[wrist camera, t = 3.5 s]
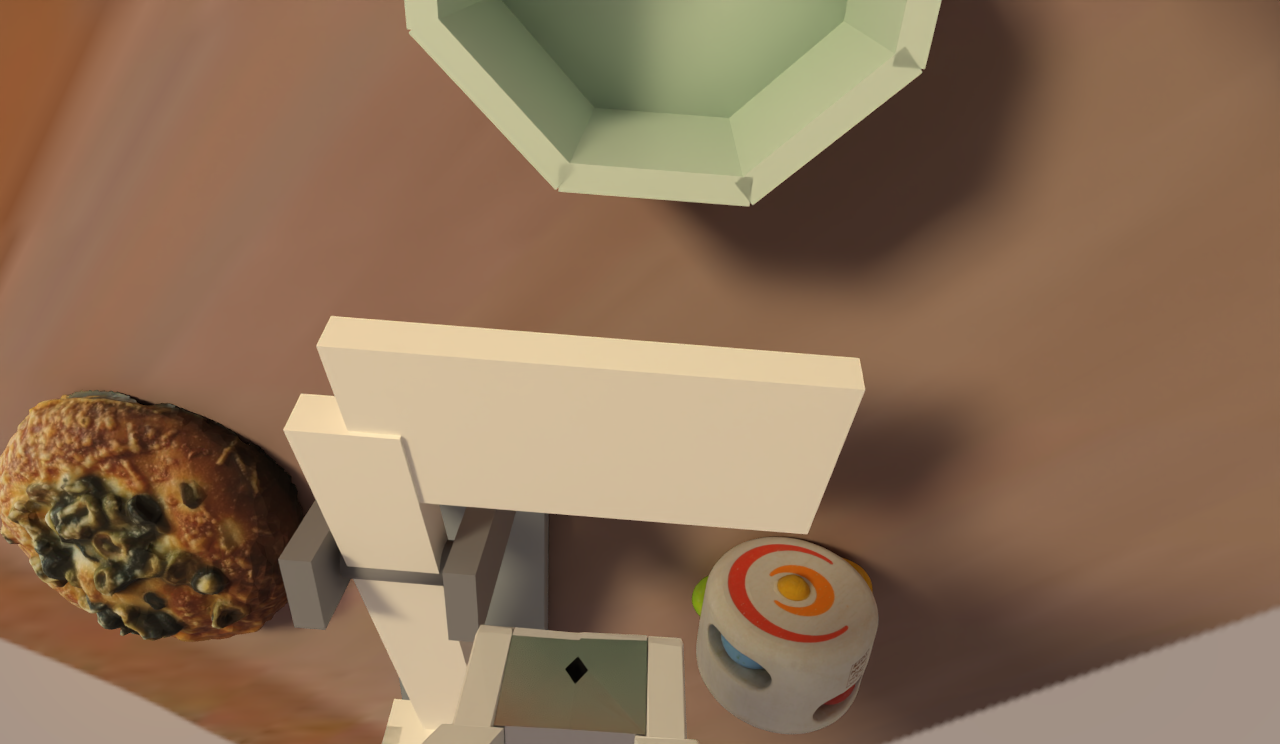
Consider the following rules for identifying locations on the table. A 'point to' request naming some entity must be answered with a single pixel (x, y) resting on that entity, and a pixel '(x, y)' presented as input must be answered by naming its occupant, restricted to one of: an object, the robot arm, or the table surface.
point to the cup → (675, 84)
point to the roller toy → (784, 633)
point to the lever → (545, 456)
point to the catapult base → (472, 577)
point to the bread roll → (148, 516)
